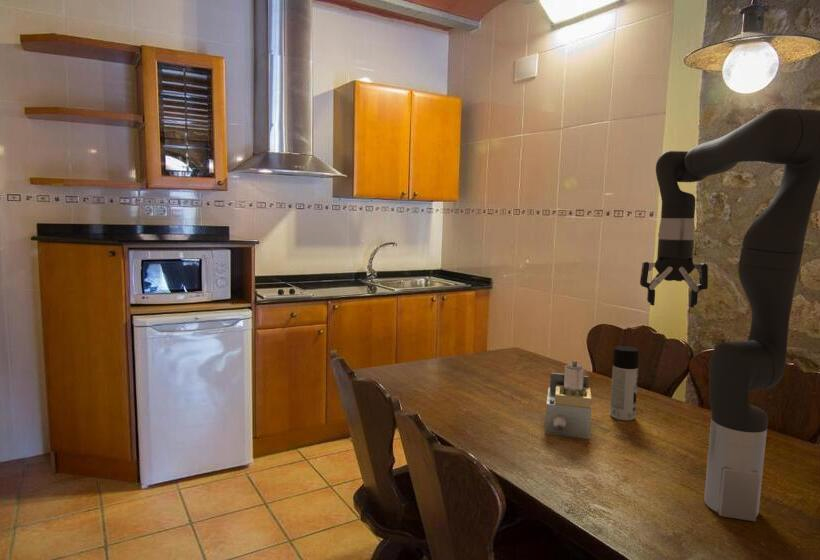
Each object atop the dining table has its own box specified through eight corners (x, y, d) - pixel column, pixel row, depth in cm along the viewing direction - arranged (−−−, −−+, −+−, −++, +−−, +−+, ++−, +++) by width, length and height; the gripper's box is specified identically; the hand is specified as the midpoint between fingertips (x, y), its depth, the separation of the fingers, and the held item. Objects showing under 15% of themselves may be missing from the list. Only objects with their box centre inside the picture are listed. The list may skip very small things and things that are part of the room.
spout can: (582, 404, 137) (584, 364, 136) (563, 402, 139) (565, 362, 137) (581, 398, 142) (584, 359, 141) (563, 396, 143) (565, 358, 142)
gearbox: (589, 443, 133) (592, 393, 131) (544, 438, 136) (546, 388, 134) (587, 419, 149) (590, 374, 147) (547, 414, 152) (549, 370, 150)
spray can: (637, 422, 147) (642, 352, 144) (611, 420, 148) (616, 350, 146) (632, 413, 153) (637, 346, 151) (607, 411, 155) (611, 344, 152)
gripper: (645, 237, 123) (641, 306, 125) (714, 239, 119) (708, 310, 121) (641, 236, 130) (637, 302, 132) (705, 238, 126) (700, 305, 128)
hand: (671, 306), depth 127 cm, fingers open, 8 cm apart
